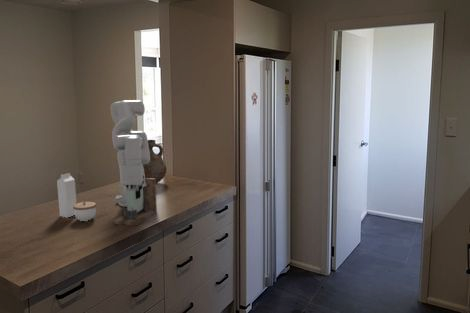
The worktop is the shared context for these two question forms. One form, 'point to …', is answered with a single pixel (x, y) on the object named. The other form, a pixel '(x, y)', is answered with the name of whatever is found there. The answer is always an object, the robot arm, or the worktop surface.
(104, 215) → the worktop surface
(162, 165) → the jug
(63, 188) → the milk
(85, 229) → the worktop surface
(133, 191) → the door
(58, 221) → the worktop surface
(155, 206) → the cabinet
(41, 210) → the worktop surface
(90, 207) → the lidded jar
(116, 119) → the robot arm
